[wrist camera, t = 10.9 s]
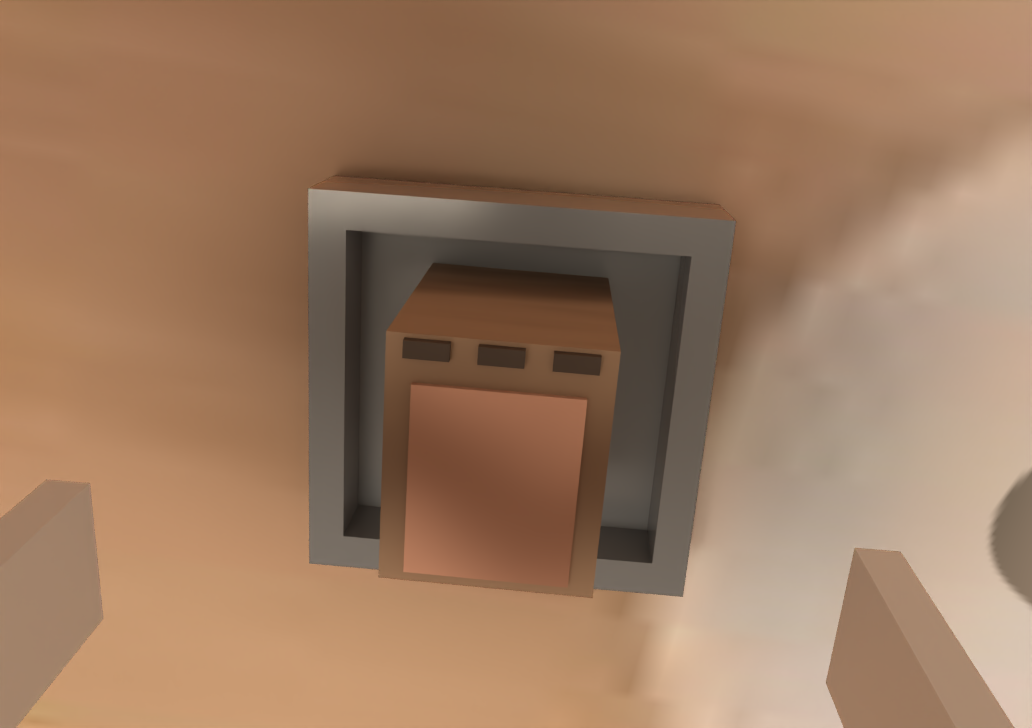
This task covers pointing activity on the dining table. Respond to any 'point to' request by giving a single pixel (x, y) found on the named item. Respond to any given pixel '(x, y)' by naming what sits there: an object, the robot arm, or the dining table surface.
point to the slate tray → (528, 247)
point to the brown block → (498, 429)
